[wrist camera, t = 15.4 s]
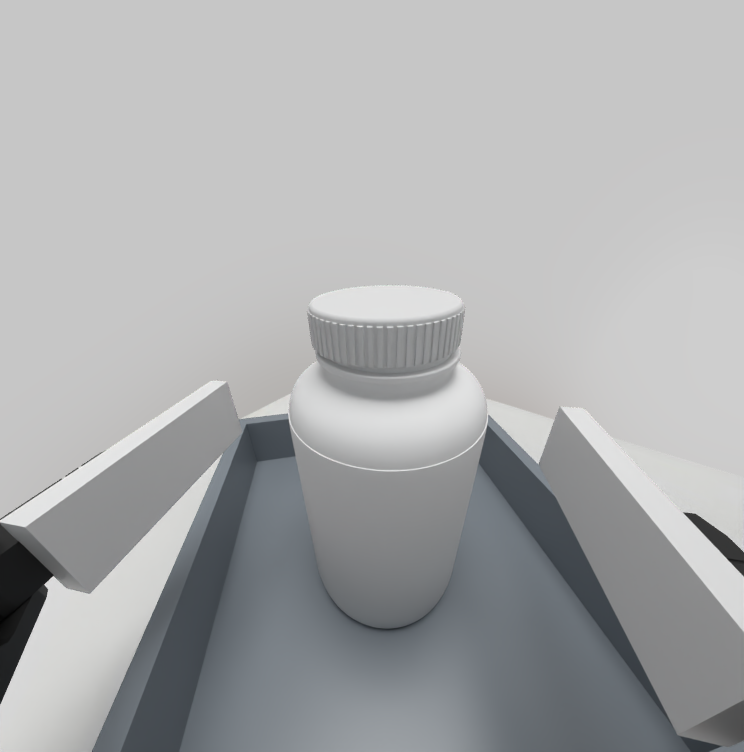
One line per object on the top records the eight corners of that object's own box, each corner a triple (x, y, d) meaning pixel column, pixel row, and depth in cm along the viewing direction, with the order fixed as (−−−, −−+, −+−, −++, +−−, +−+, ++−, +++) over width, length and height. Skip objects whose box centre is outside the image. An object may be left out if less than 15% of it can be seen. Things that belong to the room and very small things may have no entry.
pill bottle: (312, 650, 12) (221, 341, 5) (321, 499, 19) (288, 283, 12) (477, 624, 13) (588, 321, 6) (428, 487, 20) (452, 277, 13)
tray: (459, 434, 27) (466, 392, 25) (727, 796, 9) (837, 764, 7) (251, 464, 24) (237, 419, 21) (70, 1093, 6) (-110, 1208, 4)
